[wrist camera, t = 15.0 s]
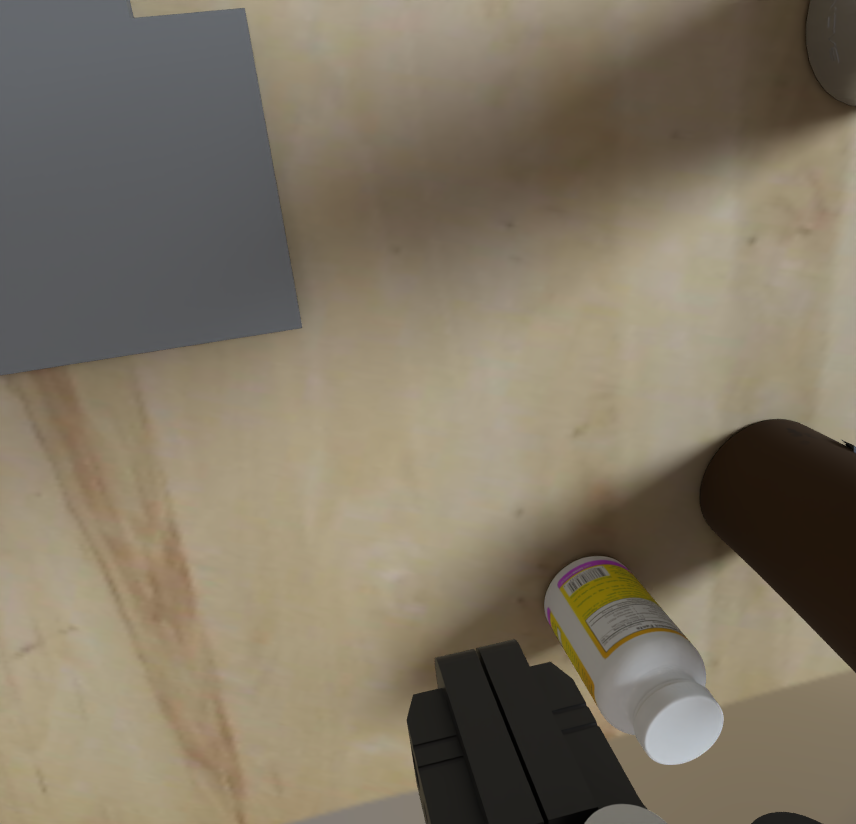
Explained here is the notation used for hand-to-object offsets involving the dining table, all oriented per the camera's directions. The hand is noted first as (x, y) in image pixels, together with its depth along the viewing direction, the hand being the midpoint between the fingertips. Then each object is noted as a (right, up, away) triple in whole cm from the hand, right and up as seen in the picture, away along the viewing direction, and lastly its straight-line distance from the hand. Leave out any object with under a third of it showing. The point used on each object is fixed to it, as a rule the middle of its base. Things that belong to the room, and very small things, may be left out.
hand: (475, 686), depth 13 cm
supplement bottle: (+10, -8, +37) cm, 39 cm away
